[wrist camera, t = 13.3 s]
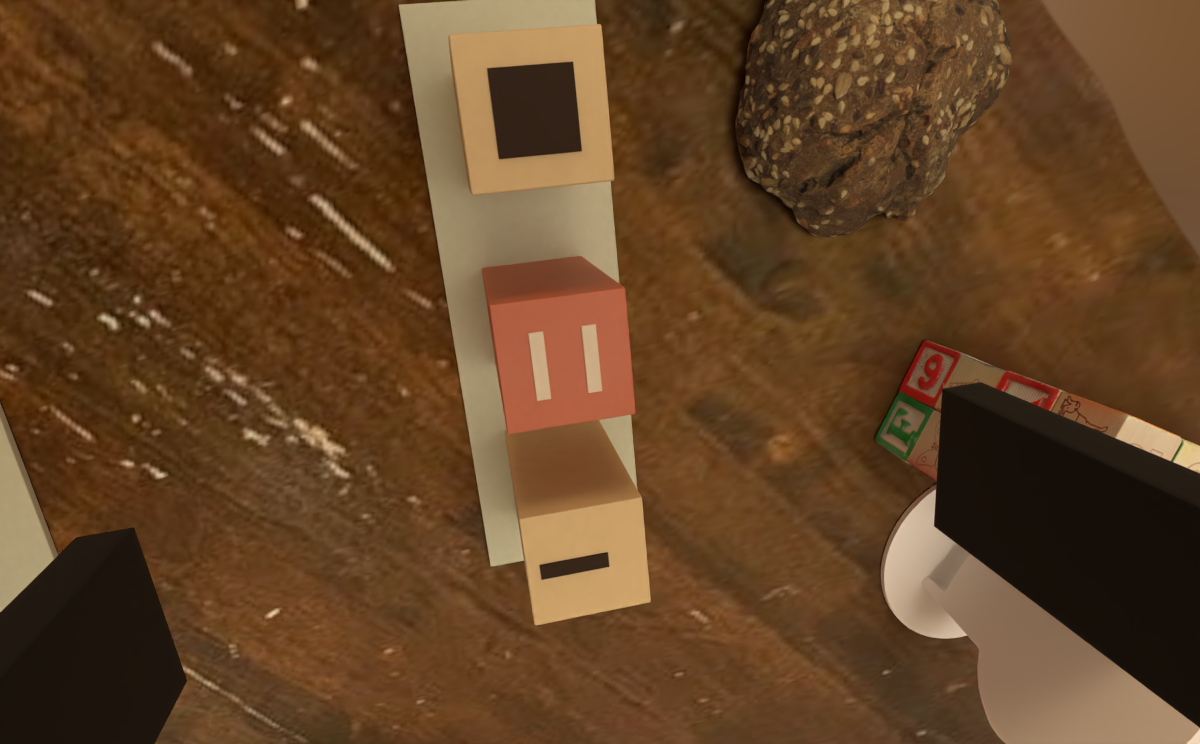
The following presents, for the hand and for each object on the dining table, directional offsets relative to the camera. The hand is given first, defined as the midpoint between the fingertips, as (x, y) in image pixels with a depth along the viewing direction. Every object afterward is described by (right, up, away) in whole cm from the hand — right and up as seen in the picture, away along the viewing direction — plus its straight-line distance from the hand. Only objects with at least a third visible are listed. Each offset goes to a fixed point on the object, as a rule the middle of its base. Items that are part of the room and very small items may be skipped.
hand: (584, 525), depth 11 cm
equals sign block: (-3, +5, +21) cm, 22 cm away
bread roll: (+12, +16, +21) cm, 29 cm away
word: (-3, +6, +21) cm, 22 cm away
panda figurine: (+22, -9, +31) cm, 39 cm away
